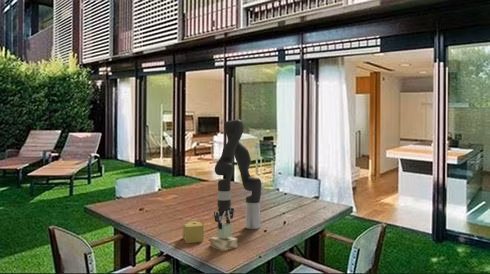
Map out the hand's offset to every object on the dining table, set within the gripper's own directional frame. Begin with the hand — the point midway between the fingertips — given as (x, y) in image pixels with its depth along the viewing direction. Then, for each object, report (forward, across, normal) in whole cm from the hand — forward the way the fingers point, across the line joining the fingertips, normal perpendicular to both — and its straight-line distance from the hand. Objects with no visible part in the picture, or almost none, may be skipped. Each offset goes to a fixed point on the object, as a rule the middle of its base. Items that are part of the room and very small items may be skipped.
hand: (224, 227), depth 218 cm
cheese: (+11, +5, -21) cm, 24 cm away
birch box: (+11, 0, 0) cm, 11 cm away
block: (+5, 0, 0) cm, 5 cm away
